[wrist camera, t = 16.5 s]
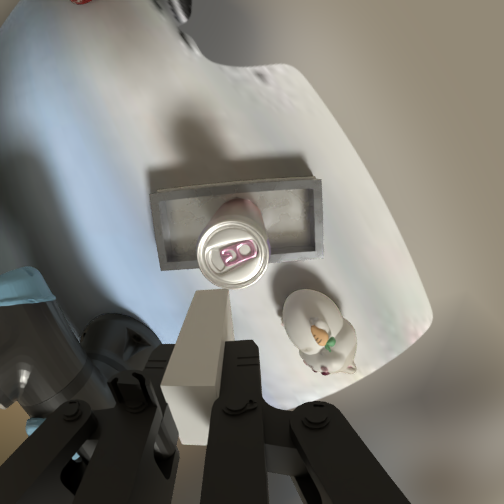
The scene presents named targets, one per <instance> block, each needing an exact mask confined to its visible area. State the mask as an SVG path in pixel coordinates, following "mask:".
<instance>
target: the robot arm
mask: <svg viewBox="0 0 504 504" xmlns="http://www.w3.org/2000/svg"><path fill="white" fill-rule="evenodd" d="M55 300H56V297H55V296H54V295H52V293H51V291H50V289H49V287H48V286H47V284H46V282H45V280H44V278H43V276H42V275H41V273H40V272H39V271H38V270H37V269H36V268H34V267H30V266H28V267H22V268H18V269H15V270H13V271H10V272H7V273H4V274H2V275H0V408H2V409H6V408H8V407H9V406H10V405H12V404H13V403H14V402H15V401H18V402H19V404H20V405H21V406H22V407H23V409H24V410H25V411H26V412H27V414H28V415H29V416H30V419H28V420H27V424H26V432H27V434H28V436H29V437H28V438H27V439H26V440H25V441H24V442H23V443H22V444H21V445H20V446H19V448H18V449H16V450H15V452H14V453H13V454H12V455H11V456H10V457H9V458H8V459H7V460H6V461H5V462H4V463H3V464H2V465H1V466H0V504H171V500H172V495H173V490H174V484H175V479H176V473H177V468H178V462H179V458H180V457H179V451H178V448H177V446H176V445H177V440H178V436H179V437H180V440H181V442H182V444H185V445H207V449H206V457H205V465H204V474H203V483H202V491H201V500H200V504H269V491H268V475H267V472H272V473H278V474H284V475H290V477H291V479H292V481H293V483H294V485H295V487H296V490H297V492H298V494H299V496H300V498H301V500H302V502H303V504H411V503H410V502H409V501H408V499H407V498H406V497H405V496H404V494H403V493H402V492H401V490H400V489H399V488H398V487H397V485H396V484H395V483H394V481H393V480H392V479H391V478H390V476H389V475H388V474H387V472H386V471H385V470H384V469H383V467H382V466H381V465H380V463H379V462H378V461H377V459H376V458H375V457H374V455H373V454H372V453H371V452H370V450H369V449H368V448H367V446H366V445H365V444H364V442H363V441H362V440H361V438H360V437H359V436H358V434H357V433H356V432H355V430H354V429H353V428H352V426H351V425H350V424H349V422H348V421H347V420H346V418H345V417H344V416H343V414H342V413H341V412H340V410H339V409H337V408H336V407H335V406H334V405H332V404H329V403H327V402H321V401H312V402H306V403H304V404H302V405H300V406H298V407H297V408H296V409H295V410H294V411H287V410H281V409H277V408H274V407H272V406H270V405H269V404H268V403H266V402H265V400H264V399H263V397H262V386H261V372H260V360H259V348H258V346H257V345H256V344H255V342H254V341H253V340H240V341H235V338H234V330H233V322H232V314H231V306H230V297H229V288H228V289H213V290H198V291H196V292H195V295H194V297H193V300H192V302H191V305H190V307H189V310H188V313H187V315H186V318H185V320H184V323H183V326H182V328H181V331H180V333H179V336H178V339H177V341H176V344H161V342H160V341H159V339H158V338H157V337H156V335H155V334H154V333H153V332H152V331H151V330H150V329H149V328H147V327H146V326H145V325H143V324H142V323H140V322H139V321H137V320H135V319H133V318H131V317H128V316H125V315H121V314H104V315H101V316H98V317H96V318H95V319H94V320H93V321H92V322H91V323H90V324H89V325H88V326H87V327H86V328H85V330H84V332H83V334H82V336H81V340H80V343H79V341H78V340H77V338H76V336H75V335H74V333H73V331H72V330H71V328H70V326H69V324H68V323H67V321H66V319H65V317H64V316H63V314H62V312H61V310H60V308H59V306H58V304H57V302H56V301H55Z"/></svg>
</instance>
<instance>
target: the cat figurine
mask: <svg viewBox="0 0 504 504" xmlns="http://www.w3.org/2000/svg"><path fill="white" fill-rule="evenodd" d="M281 321H282V324H281V325H282V326H284V327H285V330H286V332H287V335H288V337H289V338H290V340H291V341H292V343H293V344H294V345H295V346H296V347H297V348H298V349H299V354H300V356H301V358H302V359H303V361H304V363H305V364H306V365H308V366H309V367H310V368H311V369H312V370H313V371H314V372H320V373H321V374H322V375H329V374H334V373H338V372H343V373H347V374H354V373H355V372H356V366H355V364H354V361H353V359H354V357H355V354H356V348H357V337H356V332H355V329H354V327H353V326H352V325H351V323H350V322H349V321H347V320H346V319H345V318H343V317H342V315H341V312H340V311H339V309H338V307H337V306H336V304H335V303H334V302H333V301H332V300H331V299H330V298H329V297H327V296H326V295H324V294H322V293H320V292H318V291H315V290H311V289H301V290H297V291H294V292H293V293H291V294H290V295H289V296H288V297H287V299H286V301H285V303H284V307H283V317H282V319H281Z"/></svg>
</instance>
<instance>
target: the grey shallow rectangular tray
mask: <svg viewBox="0 0 504 504" xmlns="http://www.w3.org/2000/svg"><path fill="white" fill-rule="evenodd" d="M235 198H242V199H246V200H249V201H251V202H252V203H254V204H255V205H256V206H257V207H258V208H259V210H260V212H261V214H262V217H263V221H264V224H265V228H266V232H267V235H268V239H269V242H270V248H271V254H270V260H269V263H274V262H287V261H299V260H311V259H323V258H324V246H323V206H322V184H321V179H316V177H315V176H307V177H287V178H270V179H256V180H243V181H232V182H221V183H211V184H201V185H192V186H184V187H175V188H168V189H160V190H157V192H156V193H152V194H150V201H151V209H152V217H153V224H154V231H155V238H156V244H157V251H158V257H159V263H160V268H161V271H166V270H181V269H195V268H199V266H198V263H197V257H196V246H197V241H198V238H199V236H200V234H201V232H202V230H203V229H204V228H205V226H206V225H207V224H208V222H209V221H210V219H211V218H212V217H213V215H214V214H215V213H216V211H217V210H218V209H219V207H220V206H221V205H222V204H223V203H225V202H226V201H228V200H231V199H235Z"/></svg>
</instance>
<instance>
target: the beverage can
mask: <svg viewBox="0 0 504 504" xmlns="http://www.w3.org/2000/svg"><path fill="white" fill-rule="evenodd" d="M270 254H271V248H270V242H269V239H268V235H267V232H266V228H265V224H264V221H263V217H262V214H261V212H260V210H259V208H258V207H257V206H256V205H255V204H254V203H252V202H251V201H249V200H246V199H242V198H235V199H231V200H228V201H226V202H225V203H223V204H222V205H221V206H220V207H219V209H218V210H217V211H216V213H215V214H214V215H213V217H212V218H211V219H210V221H209V222H208V224H207V225H206V226H205V228H204V229H203V230H202V232H201V234H200V236H199V238H198V241H197V246H196V257H197V263H198V266H199V268H200V270H201V272H202V274H203V275H204V276H205V277H206V278H207V279H208V280H209V281H210V282H211V283H213V284H214V285H216V286H218V287H221V288H224V289H228V288H229V289H230V290H236V289H242V288H246V287H248V286H250V285H252V284H254V283H255V282H256V281H258V280H259V279H260V278H261V276H262V275H263V274H264V272H265V270H266V268H267V266H268V263H269V260H270Z"/></svg>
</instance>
